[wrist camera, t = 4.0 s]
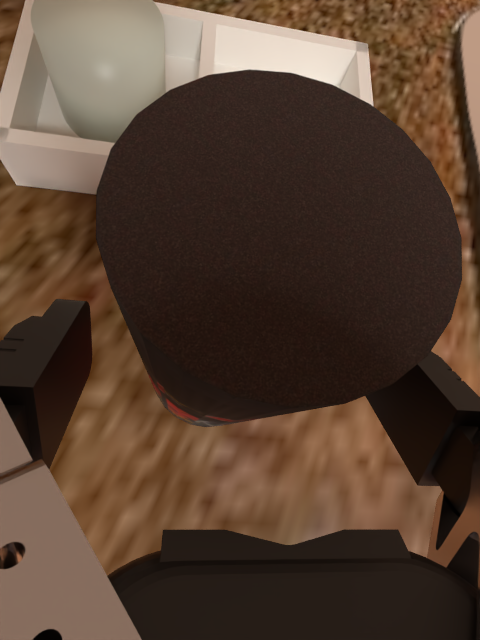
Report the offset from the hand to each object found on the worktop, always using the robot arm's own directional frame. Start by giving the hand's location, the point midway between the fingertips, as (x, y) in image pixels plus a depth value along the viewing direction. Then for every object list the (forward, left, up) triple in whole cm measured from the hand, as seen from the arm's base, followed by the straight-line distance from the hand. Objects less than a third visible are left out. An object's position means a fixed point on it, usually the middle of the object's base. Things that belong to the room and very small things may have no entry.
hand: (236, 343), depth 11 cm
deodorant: (-1, +1, -10) cm, 10 cm away
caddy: (-11, +11, -10) cm, 19 cm away
